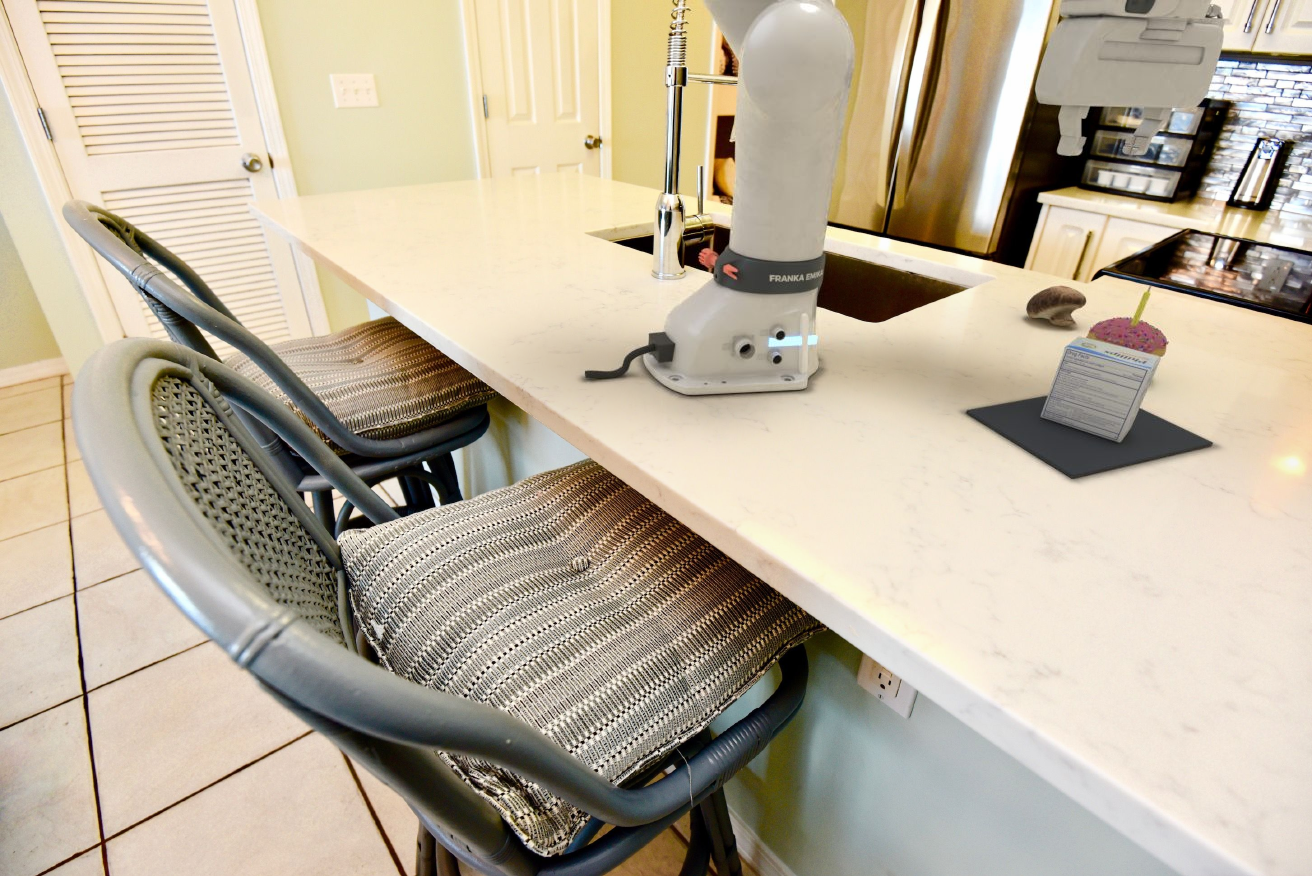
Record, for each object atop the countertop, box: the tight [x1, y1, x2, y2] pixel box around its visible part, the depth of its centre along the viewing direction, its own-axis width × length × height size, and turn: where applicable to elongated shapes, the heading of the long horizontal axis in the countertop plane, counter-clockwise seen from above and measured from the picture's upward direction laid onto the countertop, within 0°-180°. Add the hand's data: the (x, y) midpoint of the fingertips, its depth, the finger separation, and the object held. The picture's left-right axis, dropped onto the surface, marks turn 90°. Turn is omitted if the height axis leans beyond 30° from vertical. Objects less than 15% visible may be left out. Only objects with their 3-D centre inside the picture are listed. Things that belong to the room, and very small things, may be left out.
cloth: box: [965, 395, 1214, 479], centre depth 72 cm, size 20×14×1 cm
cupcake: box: [1085, 285, 1170, 358], centre depth 83 cm, size 9×8×12 cm
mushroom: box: [1025, 285, 1087, 327], centre depth 100 cm, size 8×8×6 cm
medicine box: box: [1041, 336, 1162, 443], centre depth 70 cm, size 8×4×9 cm, turn 46°
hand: (1101, 154), depth 70 cm, fingers open, 8 cm apart
